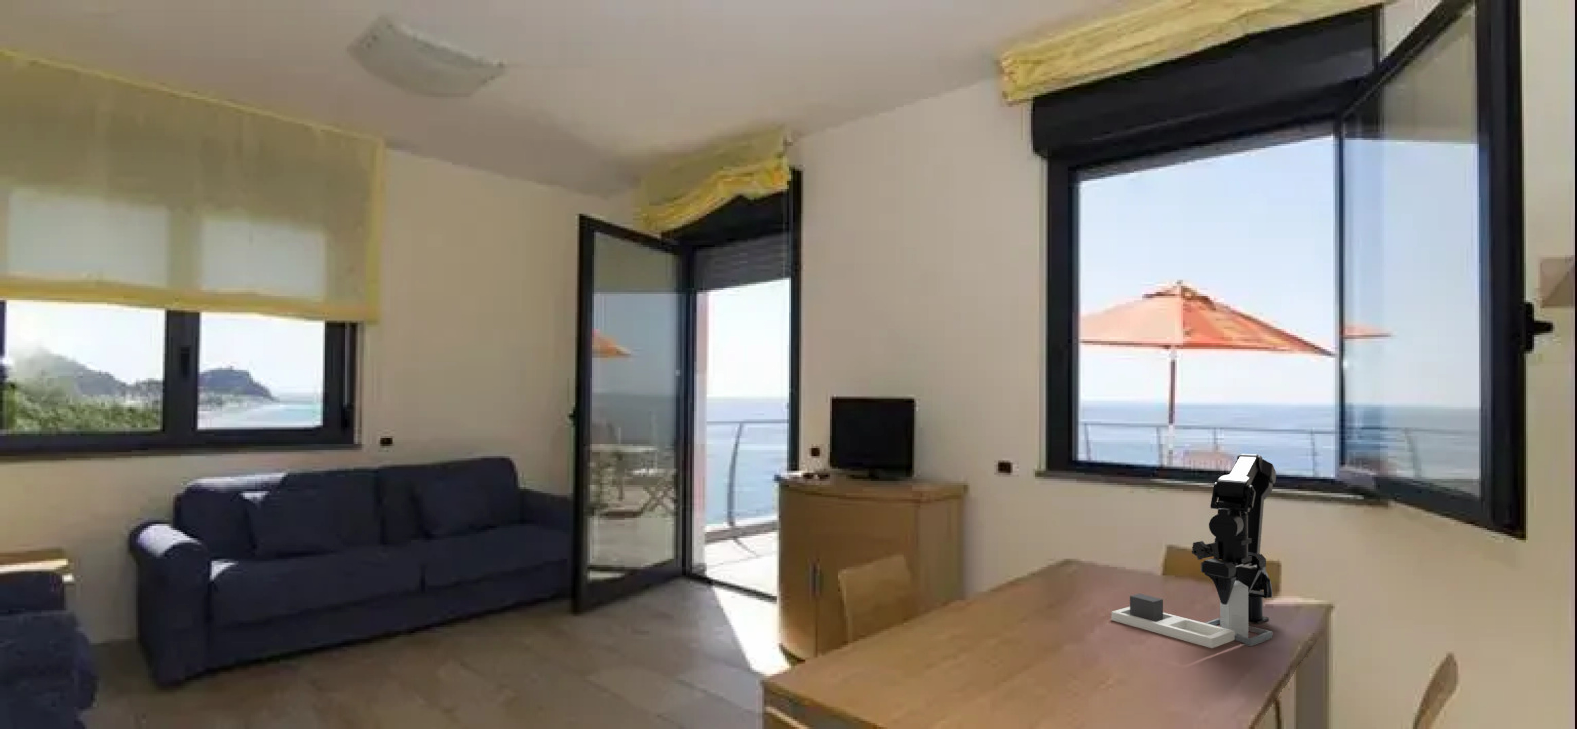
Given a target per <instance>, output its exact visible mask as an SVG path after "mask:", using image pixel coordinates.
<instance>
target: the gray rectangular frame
mask: <svg viewBox="0 0 1577 729" xmlns="http://www.w3.org/2000/svg"><path fill="white" fill-rule="evenodd" d="M1205 623H1206V624H1210V625H1214V626H1218V625H1220V618H1219V617H1217V618H1215V619H1212V620H1209V621H1207V622H1205ZM1248 632H1252V633H1255V634H1257V635H1254V636H1252V637H1248V638H1247V637H1243V636H1239V635H1235V640H1234V641H1236V642H1237V641H1238V642H1241V644H1242V645H1244V646H1248V647H1253V646H1255V645H1258V644H1261V643H1263V642H1266V641H1268V640H1271V639H1273V631H1272V630H1269V629H1263V628H1259V627H1255V626H1250V625H1248ZM1270 638H1271V639H1270ZM1265 640H1266V641H1265Z"/></svg>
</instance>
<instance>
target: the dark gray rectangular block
mask: <svg viewBox="0 0 1577 729" xmlns="http://www.w3.org/2000/svg"><path fill="white" fill-rule="evenodd" d="M1129 607H1130V615H1132V616H1136V617H1139V618H1143V619H1147V620H1151V621H1154V622H1157V621H1160V620H1163V613H1164V599H1163V598H1159V597H1155V596H1151V595H1147V594H1142V593H1137V594H1132V595H1130V596H1129Z"/></svg>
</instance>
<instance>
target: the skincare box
mask: <svg viewBox="0 0 1577 729" xmlns="http://www.w3.org/2000/svg"><path fill="white" fill-rule="evenodd" d="M1219 603H1220V604H1219V605H1220V606H1219V608H1220V609H1219V610H1220V613H1219V616H1220V624H1219V625H1220V626H1219V627H1222V628H1226V629H1230V630H1234V631H1235V635H1239V636H1243V637H1247V638H1249V631H1248V626H1249V622H1248V586H1246V585H1244V584H1243V583H1241V582H1240V581H1235V583H1234V586H1233V589H1232V592H1231V595H1230V598H1229V600H1228V603H1227V604H1226V605H1225V604H1222V603H1221V601H1220V602H1219Z"/></svg>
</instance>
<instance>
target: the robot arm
mask: <svg viewBox="0 0 1577 729" xmlns="http://www.w3.org/2000/svg"><path fill="white" fill-rule="evenodd" d="M1276 480H1277V473H1276V469H1275V466H1274V465H1273V463H1271V462H1270V461H1267V460H1266V459H1263V457H1262V455H1259V454H1258V453H1257V454H1256V453H1254V454H1253V453H1240V454H1237V455H1236V461H1235V462H1234V466H1233V468H1232V469H1231V470H1230V473H1229V474H1223V475H1221V476H1220V477H1219V478H1217V481H1216V482H1214V483H1213V487H1212V488H1213V489H1212V493H1211V494H1212V496H1211V501H1210V506H1209V507H1210V509H1215V510H1217V514H1215V515H1214V516H1212V517H1210V519H1209V523H1208V528H1209V532H1211V534H1212V535H1213V536H1214V541H1213V542H1210V543H1205V542H1204V541H1202V540H1201V541H1195V542H1194V541H1193V542H1192V546H1191V549H1192V550H1191V554H1192V555H1194V556H1195V557H1196V559H1197V560H1198V561H1200V560H1203V559H1204V560H1203V561H1202V562H1201V563H1200V572H1201V573H1203V574H1204V576H1207V577H1208V578H1210V580H1212V582H1213V584H1214V586H1215V589H1216V592H1217V595H1218V598H1219V600H1220V601H1221V603H1222V604H1225V605H1226V604H1227V603H1228V600H1229V598H1230V595H1231V592H1232V589H1233V586H1234V583H1235V581H1240V582H1241V583H1243V584H1244V585H1246V586H1248V623H1251V624H1257V625H1258V624H1261V623H1264V622H1267V621H1269V620H1270V617H1268V616H1265V615H1264V604H1263V603H1264V600H1263V599H1269V598H1273V587H1272V581H1271V579H1270V578H1269V577H1270V576H1269V574H1268V572H1267V568H1266V567H1267V558H1266V557H1265V556H1264V554H1262V553H1261V545H1262V544H1261V542H1262V531H1263V530H1262V528H1263V516H1264V504H1265V500H1266V499H1267V498H1268V496H1269V495H1271V493H1272V491H1273V484H1276ZM1211 557H1213V558H1211ZM1208 558H1209V559H1208Z"/></svg>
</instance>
